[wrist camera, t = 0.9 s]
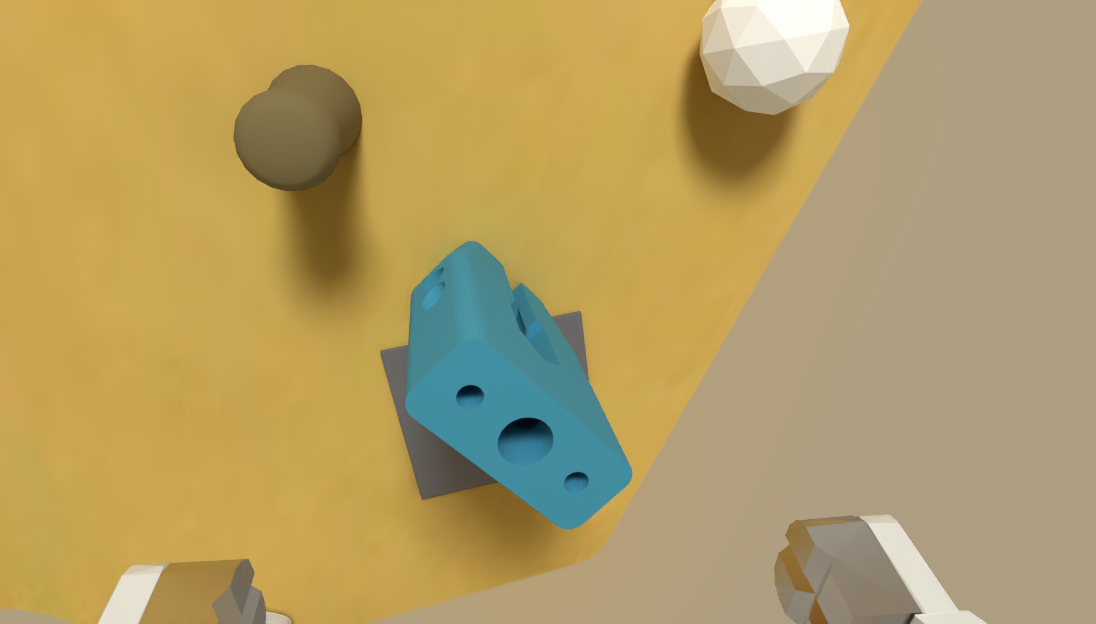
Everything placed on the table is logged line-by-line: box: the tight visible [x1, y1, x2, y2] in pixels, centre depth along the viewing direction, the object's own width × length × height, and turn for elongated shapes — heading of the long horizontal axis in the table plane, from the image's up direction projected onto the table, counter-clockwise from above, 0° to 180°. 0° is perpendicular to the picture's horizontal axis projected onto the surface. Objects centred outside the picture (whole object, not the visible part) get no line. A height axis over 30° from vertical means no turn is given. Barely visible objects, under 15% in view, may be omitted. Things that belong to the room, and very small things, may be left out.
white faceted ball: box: [700, 0, 850, 115], centre depth 40 cm, size 9×9×12 cm
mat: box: [381, 311, 589, 499], centre depth 54 cm, size 15×16×1 cm
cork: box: [234, 65, 362, 191], centre depth 37 cm, size 6×6×11 cm
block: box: [405, 241, 632, 529], centre depth 40 cm, size 12×5×20 cm, turn 43°
